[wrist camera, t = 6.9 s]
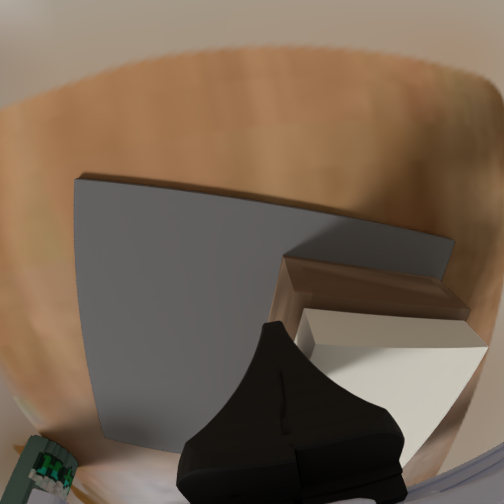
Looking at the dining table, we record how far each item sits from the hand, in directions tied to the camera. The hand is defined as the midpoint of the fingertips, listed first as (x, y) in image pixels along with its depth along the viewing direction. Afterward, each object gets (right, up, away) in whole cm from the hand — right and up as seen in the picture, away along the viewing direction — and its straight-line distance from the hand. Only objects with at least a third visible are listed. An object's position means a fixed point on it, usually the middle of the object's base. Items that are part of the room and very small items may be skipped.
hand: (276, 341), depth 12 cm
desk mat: (-1, -4, +8) cm, 9 cm away
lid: (+5, -4, +3) cm, 7 cm away
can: (-23, -19, +13) cm, 33 cm away
